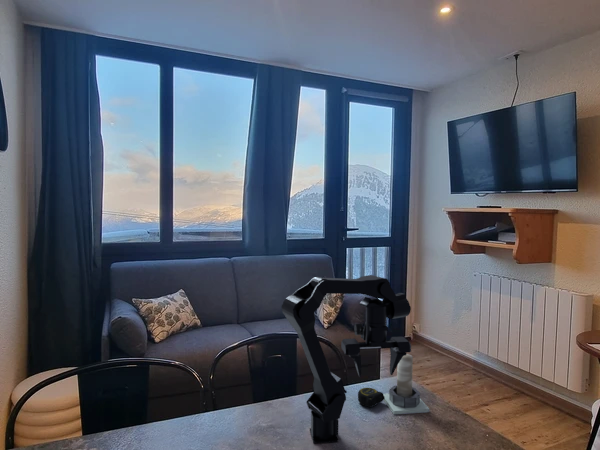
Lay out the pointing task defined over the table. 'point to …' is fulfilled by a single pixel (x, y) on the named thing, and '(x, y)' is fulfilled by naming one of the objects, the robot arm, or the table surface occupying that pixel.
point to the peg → (405, 376)
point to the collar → (404, 398)
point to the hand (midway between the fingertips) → (375, 375)
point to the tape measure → (370, 397)
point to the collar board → (399, 410)
